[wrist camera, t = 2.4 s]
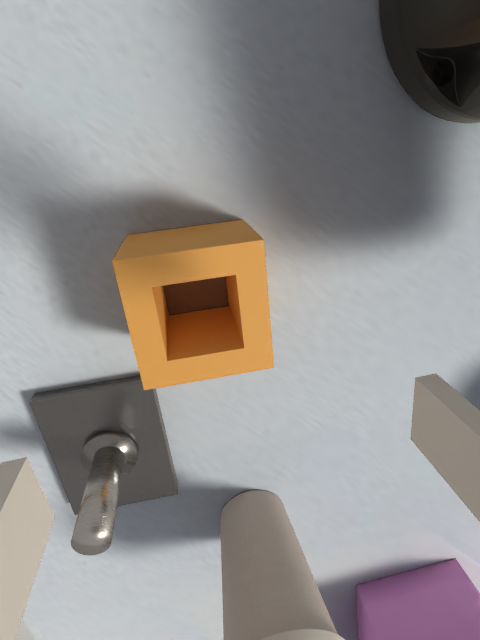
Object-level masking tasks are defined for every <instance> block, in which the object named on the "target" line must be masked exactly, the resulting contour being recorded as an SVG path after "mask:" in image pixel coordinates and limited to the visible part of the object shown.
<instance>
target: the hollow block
mask: <svg viewBox="0 0 480 640" xmlns="http://www.w3.org/2000/svg"><path fill="white" fill-rule="evenodd" d="M112 263H113V268H114V272H115V276H116V280H117V284H118V288H119V292H120V296H121V300H122V304H123V308H124V312H125V316H126V320H127V324H128V328H129V332H130V336H131V340H132V344H133V348H134V352H135V356H136V360H137V364H138V368H139V372H140V376H141V380H142V384H143V388H144V390H149V389H154V388H160V387H166V386H172V385H177V384H183V383H189V382H195V381H200V380H206V379H212V378H217V377H223V376H229V375H235V374H240V373H246V372H252V371H257V370H263V369H269V368H274V362H273V349H272V336H271V324H270V311H269V298H268V285H267V273H266V260H265V247H264V239H263V238H262V237H261V236H259V235H258V234H257V233H256V232H255V231H254V230H253V229H252V228H251V227H250V226H249V225H248V224H247V223H246V222H245V221H244V220H235V221H228V222H220V223H213V224H205V225H198V226H190V227H183V228H175V229H168V230H160V231H153V232H145V233H138V234H130V235H127V236H126V238H125V240H124V241H123V243H122V245H121V246H120V248H119V250H118V251H117V253H116V255H115V257H114V258H113V260H112ZM224 276H226V284H227V292H228V300H229V306H226V307H220V308H213V309H207V310H200V311H194V312H188V313H181V314H175V315H169V313H168V308H167V303H166V298H165V293H164V288H163V285H170V284H177V283H184V282H190V281H197V280H204V279H211V278H217V277H224Z"/></svg>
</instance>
